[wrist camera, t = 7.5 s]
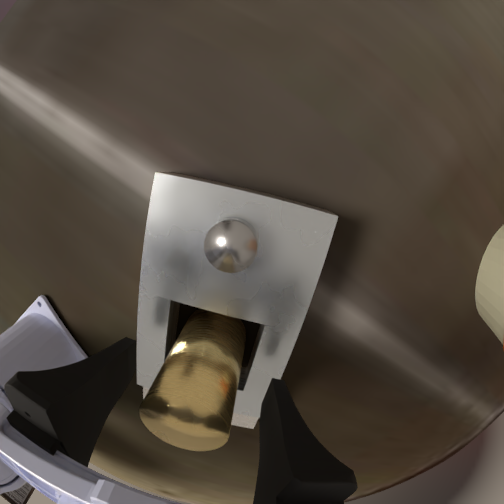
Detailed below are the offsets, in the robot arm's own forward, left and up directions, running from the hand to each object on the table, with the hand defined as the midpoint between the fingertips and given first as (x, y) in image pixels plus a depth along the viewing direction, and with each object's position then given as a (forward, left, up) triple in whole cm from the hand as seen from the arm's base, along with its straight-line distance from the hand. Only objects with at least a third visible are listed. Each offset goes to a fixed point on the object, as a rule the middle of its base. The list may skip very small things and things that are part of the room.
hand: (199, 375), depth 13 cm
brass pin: (0, 0, -5) cm, 5 cm away
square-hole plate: (0, 0, -5) cm, 5 cm away
